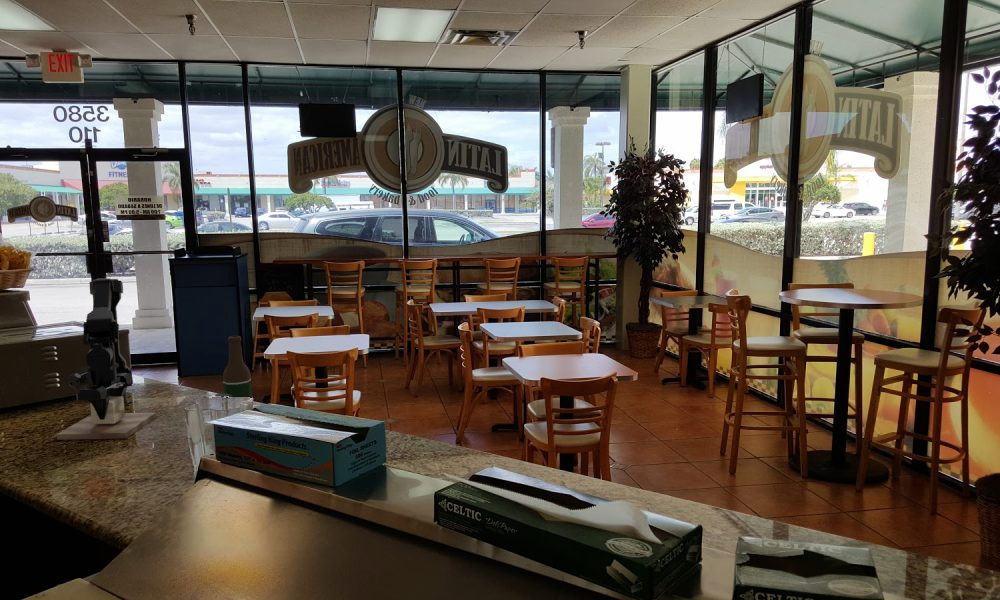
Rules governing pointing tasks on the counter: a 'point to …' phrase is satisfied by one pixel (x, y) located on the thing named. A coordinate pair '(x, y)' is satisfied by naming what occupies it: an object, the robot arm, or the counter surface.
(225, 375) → the beer bottle
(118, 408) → the maple cube
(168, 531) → the counter surface
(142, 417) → the wooden board
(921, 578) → the counter surface
